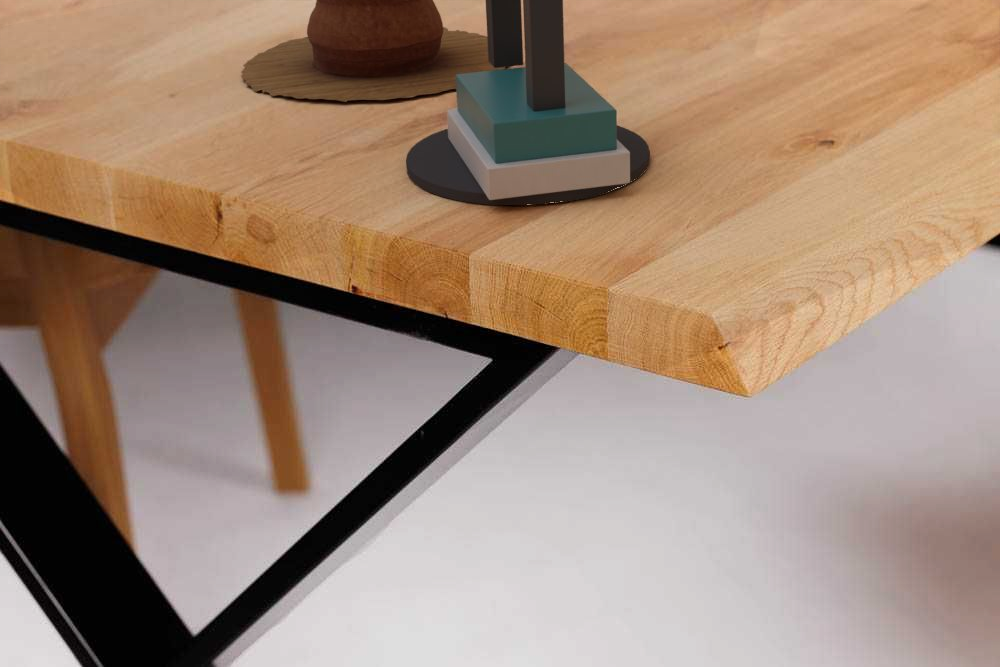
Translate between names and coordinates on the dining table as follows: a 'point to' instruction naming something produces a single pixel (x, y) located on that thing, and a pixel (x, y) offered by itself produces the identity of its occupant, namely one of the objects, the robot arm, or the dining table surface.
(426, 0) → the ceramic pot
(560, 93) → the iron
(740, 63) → the dining table surface
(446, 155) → the swivel rest
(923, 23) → the dining table surface
